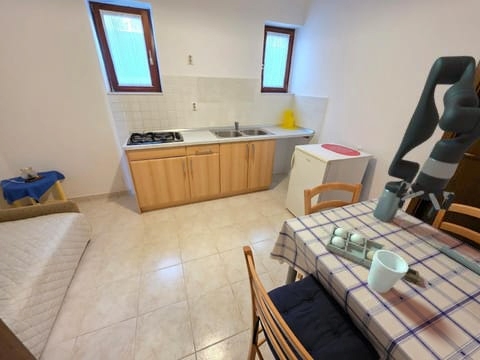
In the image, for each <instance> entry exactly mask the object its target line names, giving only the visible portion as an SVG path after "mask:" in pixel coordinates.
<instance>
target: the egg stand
mask: <svg viewBox="0 0 480 360" xmlns="http://www.w3.org/2000/svg"><path fill="white" fill-rule="evenodd" d="M420 276H421V275H420V272H419V270H415V269H414V268H410V267H409V268H408V271H407V272H406V274H405V276H403V277H402V278H401V279H404V280H406V281H409V282H411V283H413V284H415V285H419V284H420V282H421V277H420Z"/></svg>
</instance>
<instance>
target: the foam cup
mask: <svg viewBox="0 0 480 360" xmlns="http://www.w3.org/2000/svg"><path fill="white" fill-rule="evenodd" d="M408 268H410V267H409V265H408V263H407V261H406V260H405V259H404V258H403V257H401V256H400V255H399V254H397V253H396V252H393V251H391V250H388V249H385V250H382V249H381V250H377V251H376V253H375V254H374V256H373V261H372V265H371V268H369V272H368V277H367V284H368V286H369V287H370V288H371V289H372V290H374V291H375V292H376V293H379V294H385V293H387V292H389V290H390V289H391V288H392V287H394V285H396V283H398V282H399V281H400V279H403V278H402V277H403V276H405V274H406V272H407V271H408Z"/></svg>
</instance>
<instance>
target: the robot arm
mask: <svg viewBox="0 0 480 360" xmlns="http://www.w3.org/2000/svg"><path fill="white" fill-rule="evenodd" d="M476 68H477V60H476V59H475V57H474V56H471V55H451V56H450V55H449V56H446V55H445V56H440V57H437V59H436V60H435V61H433V64H432V65H431V68H430V70H429V71H428V75H427V78H426V81H425V84H424V85H423V89H422V92H421V95H420V96H419V97H420V98H419V101H418V103H417V105H416V108H415V109H414V112H413V114H412V116H411V118H410V120H409V122H408V125H407V128H406V130H405V132H404V134H403V137H402V140H401V143H400V144H399V147H398V149H397V151H396V153H395V155H394V156H393V159H392V161H391V163H390V165H389V166H388V167H389V168H388V170H387V175H388V176H390V177H392V178H395V179H399V180H398V181H396V180H392V181H388V182H386V183H385V186H384V187H383V190H382V192H381V195H380V197H379V200H378V202H377V204H376V206H375V209H374V211H373V214H372V215H373V217H375V218H376V219H377V220H379V221H381V222H384V223H392V222H393V221H394V219H395V217H396V215H397V213H398V211H399V210H403V207H404V205H405V203H406V200H409V199H413V198H416V199H421V200H424V201H431V202H432V204H433V205H432V207H431V208H430V210H429V211H428V212H427V217H428V218H432V217H436V215H437V213H439V211H441V210H444V211H448V210H449V209H450V207H451V205H452V203H453V201H454V200H455V198H456V196H455V195H456V194H455V192H453V191H445V189H446V187H447V185H448V184H449V182H450V181H451V179H452V177H453V176H454V175H455V173H456V170H457V169H458V166H459V164H460V162H461V160H462V159H463V157H464V155H465V154H466V152H467V151H468V150H469V148H471V146H473V145H474V144H475V143H476V142H477V141H478V140H479V139H480V107H479V105H480V100H479V99H480V98H479V97H478V93H477V90H476V88H475V85H476V83H475V82H476V72H477V71H476V70H477V69H476ZM437 85H438V86H439V85H443V86H445V85H446V86H447V85H450V87H449V88H448V89H447V90H446V91H445V93H444V94H443V97H442V101H443V108H444V109H443V113H442V114H441V117H440V114H439V110H438V108H437V104H436V100H435V92H436V88H437ZM437 127H439V129H440V130H441V131H444V132H446V133H455V134H460V135H458V137H455V138H444V139H439V140H437V141H436V142H435V144H434V146H433V148H432V149H431V152H430V154H429V155H428V158H426V160H425V162H423V164H422V165H423V166H422V167H421V165H420V163H419V162H417V161H416V162H415V161H412V160H407V159H403V158H404V157H405V156H406V155H407V154H409V153H410V152H411V151H412V150H414V149H416V148H417V147H419V146H420V145H423V143H425V142H427V141H428V140H430V138H432V136H433V135H434V134H435V131H436V130H437ZM415 178H416V179H415ZM414 180H415V181H414ZM413 181H414V182H413ZM442 196H443V198H444V200H443V203H439V201H438V199H437V198H440V197H442Z"/></svg>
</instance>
